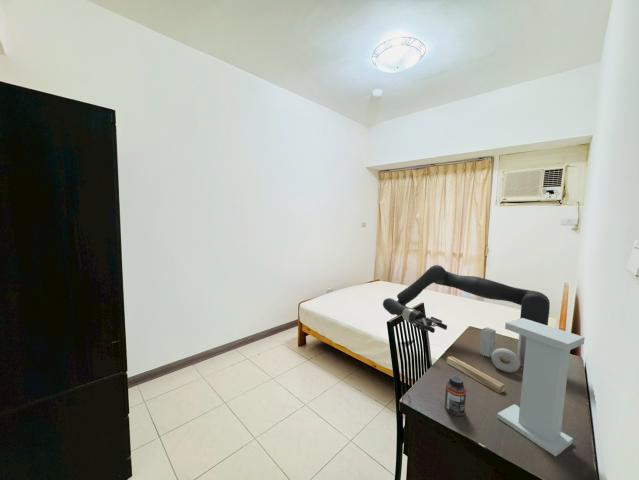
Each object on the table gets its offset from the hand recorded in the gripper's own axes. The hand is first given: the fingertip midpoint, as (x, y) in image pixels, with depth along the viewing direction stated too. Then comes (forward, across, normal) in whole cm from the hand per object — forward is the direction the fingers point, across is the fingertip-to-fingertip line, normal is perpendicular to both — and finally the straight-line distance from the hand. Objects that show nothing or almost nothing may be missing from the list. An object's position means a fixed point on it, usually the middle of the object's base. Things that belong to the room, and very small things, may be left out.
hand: (440, 329), depth 118 cm
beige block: (+16, 0, +14) cm, 21 cm away
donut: (+20, +16, +13) cm, 29 cm away
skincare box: (+8, +24, +13) cm, 29 cm away
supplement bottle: (+26, -25, +13) cm, 38 cm away
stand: (+41, -10, +13) cm, 44 cm away
